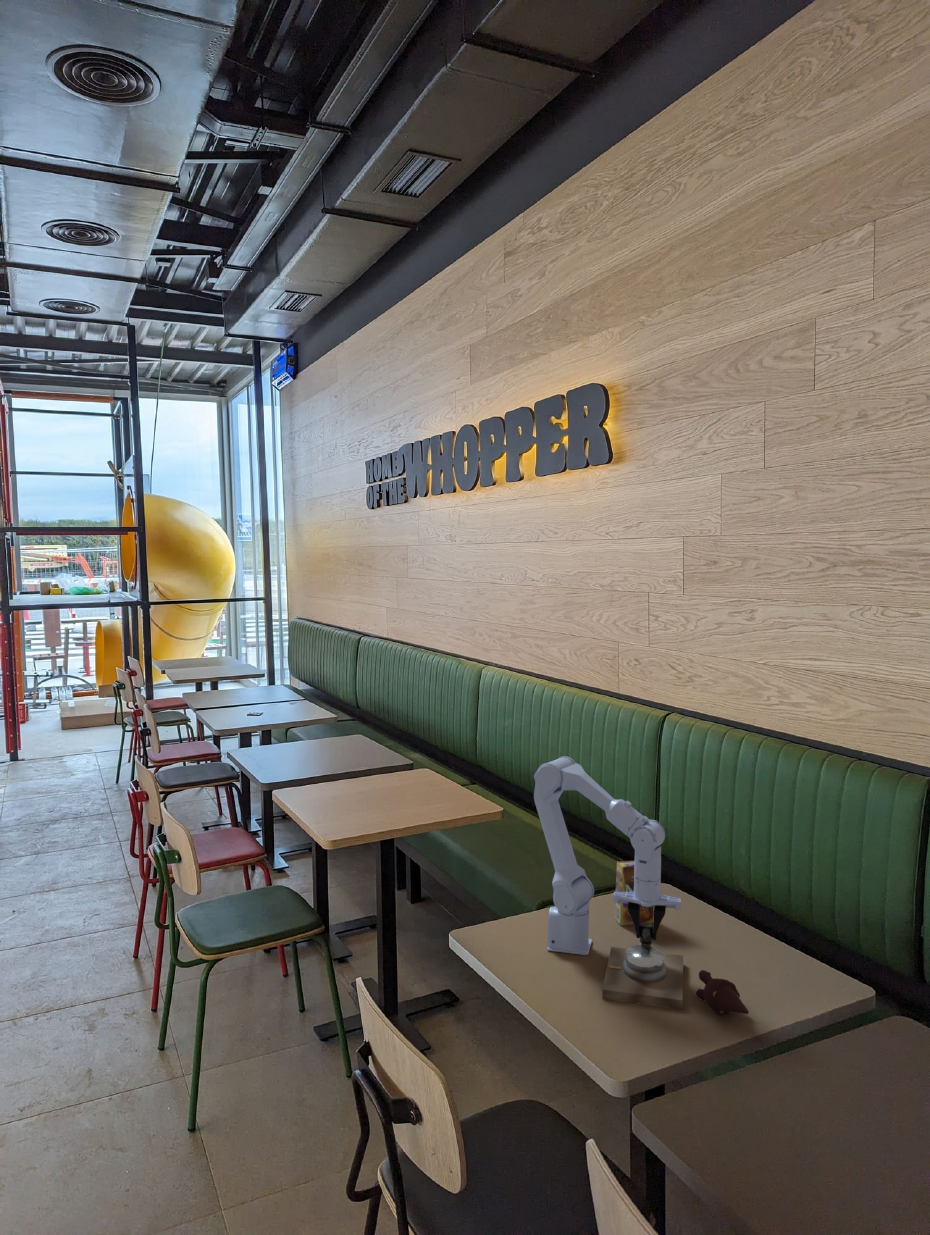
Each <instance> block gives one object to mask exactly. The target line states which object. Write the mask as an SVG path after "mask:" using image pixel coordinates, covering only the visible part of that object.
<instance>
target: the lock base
mask: <svg viewBox="0 0 930 1235" xmlns="http://www.w3.org/2000/svg"><path fill="white" fill-rule="evenodd" d="M627 949H628V948H624V947H618V946H617V947H614V946H611V947H610V952H609V956H608V959H607V966H606V970H605V975H604V979H603V984H602V989H601V990H602V994H601V995H602V996H601V997H602V998H601V999H602V1000H608V1001H616V1002H623V1003H630V1004H636V1003H639V1004H638V1005H645V1006H651V1007H658V1006H659V1008H667V1009H673V1010H680V1011H682V1010H683V1001H684V999H683V994H684V993H683V992H684V955H682V954H673V953H665V952H663V954H664V967H663V969H662V970H660V971H658V972H653V973H645V972H639V971H636V970H633V969H631V968H630V967H628V966H627V964H626V950H627Z"/></svg>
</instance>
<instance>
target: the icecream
mask: <svg viewBox="0 0 930 1235" xmlns="http://www.w3.org/2000/svg"><path fill="white" fill-rule="evenodd" d="M698 979H699V980H700V981H701V982H702V983H703V984H704V987H703V988H698V989H697V990H696V991H695V996H696V997H697V998H698V999H699V1000H700V1001H704V1003H705V1004H706V1005H707V1007H709V1009H710V1010H711V1012H712V1013H714V1014H717V1015H718V1016H720V1017H722V1016H724V1015H729V1014H731V1013H736V1014H742V1015H743V1014H744V1015H748V1014H749V1013H750V1012H749V1009H748V1008H747V1007H746V1006H745V1004H744V1003H743V1000H741V999H740V998H741V994H740V993H739V991H738V989H737V987H736V984H735V983H733V982H732V981H729V980H728V979H724V978H713V977H712V973H711V972H709V971H707V970H704V969H701V970H700V971H699V972H698Z"/></svg>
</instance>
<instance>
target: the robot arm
mask: <svg viewBox="0 0 930 1235" xmlns="http://www.w3.org/2000/svg"><path fill="white" fill-rule="evenodd" d="M533 778H534V782H535V785H534V791H533V799H534V800H533V801H534V805H535V807H536V811H537V814H538V818H539V821H540V824H541V827H542V831H543V834H544V837H545V842H546V844H547V849H548V851H549V855H550V858H551V861H552V865H553V868H554V871H555V872H554V875H553V878H552V883H551V885H552V886H551V887H552V889H553V896H552V900H553V904H554V906H550V908H549V911H548V920H547V951H550V952H555V953H556V952H557V953H567V954H571V955H573V954H574V955H582V956H589V954H590V949H591V947H592V942H593V939H592V938H589V936H590V934H589V931H590V925H589V924H590V901H591V900H593V897H594V894H595V888H594V885H593V883H592V882H591V880H590V879H589V878H588V876H587V873H586V870H585V869H584V868H583V867H582V866H580V865H579V864H578V862H577V859H576V855H575V852H574V849H573V845H572V841H571V838H570V836H569V831H568V828H567V825H566V821H565V819H564V815H563V812H562V809H561V805H560V801H559V799H560V797H561V795H562V794H563V792H564V791H577V792H578V793H580V794H581V795H583V796H584V797H585V798H586V799H588V800H590V802H592V803H594V804H595V805H596V806H598V807H599V808H601V810H603V811H604V812H605V818H606V820H607V821H609V822H610V823H611V824H612V825H613V826H614V827H615V828H617V829H618V830H620V831H621V832H622V833H623V834H624V835H625V836H627V838H629V841H630V844H631V846H632V848H633V849H634V861H635V864H634V892H616V891H614V892H613V897H612V898H613V904H615V903H617V904H618V903H628V911H629V914H630V916H631V918H632V920H633V923H634V924H633V925H634V929H635V934H636V935H635V936H636V938H637V939H640V925H641V924H640V905H642V906H646V907H651V906H654V913H653V941H656V940H657V934H658V931H659V928H660V925H661V923H662V921H663V919H664V918H665V915H666V912H667V911H666V909H675V910H676V911H681V909H682V908H681V907H682V898H679V897H673V896H670V895H665V894H661V885H662V884H661V883H662V882H661V880H662V878H661V876H662V874H661V873H662V846H661V845H662V844H663V843H664V842H665V838H666V832H665V829H664V827H663V826H662V824H661V823H660V822H659V821H657V820H655V819H649V818H648V817H647V816H646V815H642V814H641V812H639V811H638V810H637V809H635V808H634V807H633V806H632V802H630V801H629V800H624V799H622V798H621V799H620V798H619V799H615V798H614V797H613V796H611V794H609V792H607V791H606V790H605V789H604V788H603V787H602V786H601V785H600V784H598V783H597V782H596V780H594V779H593V777H591V776H590V775H588V773H587V772H586V771H585V769H584V768H583V767H582V765H581V764H579V763H578V762H575V760H574V759H573V758H571V757H569V756H564V755H563V756H560V757H558V758H557V759H555V760H552V761H549V762H545V763H542V764H541V765H540V766H539V767H538V768H537V770H536V772H535V773H534V774H533Z"/></svg>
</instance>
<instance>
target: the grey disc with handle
mask: <svg viewBox="0 0 930 1235" xmlns="http://www.w3.org/2000/svg"><path fill="white" fill-rule="evenodd" d="M653 927H654V925H653V924H651V923H645V924H640V938H639V942H640V945H638V944H636V945H632V946H629V947H628V948H626V949H627V950H626V964H627V966H628V967H630V968H631V969H633V970H636V971H639V972H645V973H653V972H658V971H660V970H662V969H663V967H664V954H663V953H664V952H663V951H662V950H660V949H659V948H656V947H654V946H652V944H653V943H654V940H653Z"/></svg>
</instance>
